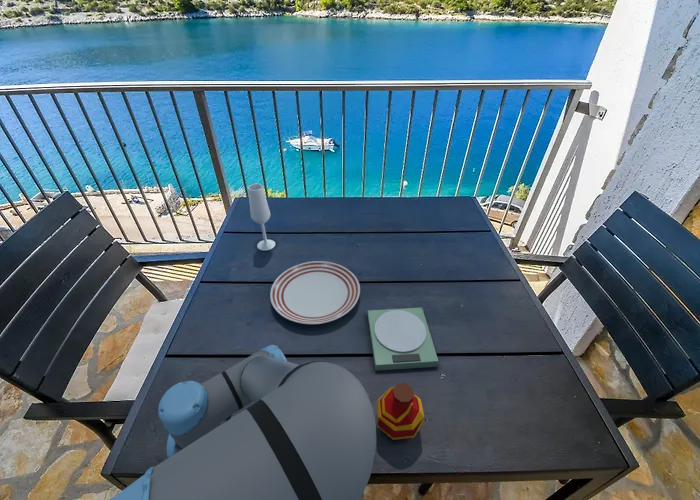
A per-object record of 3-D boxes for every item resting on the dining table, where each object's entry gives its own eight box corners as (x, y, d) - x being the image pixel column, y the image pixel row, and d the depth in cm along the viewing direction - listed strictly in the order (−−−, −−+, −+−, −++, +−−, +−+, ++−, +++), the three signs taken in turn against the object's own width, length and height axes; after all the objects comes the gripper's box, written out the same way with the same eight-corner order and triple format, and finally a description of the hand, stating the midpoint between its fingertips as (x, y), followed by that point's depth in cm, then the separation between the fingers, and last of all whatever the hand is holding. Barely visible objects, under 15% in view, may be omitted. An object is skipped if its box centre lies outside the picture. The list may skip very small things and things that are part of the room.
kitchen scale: (437, 366, 89) (438, 359, 87) (375, 370, 88) (375, 363, 86) (420, 313, 103) (422, 306, 101) (367, 316, 102) (367, 309, 100)
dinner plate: (265, 276, 115) (264, 269, 113) (344, 260, 122) (344, 252, 120) (279, 342, 95) (277, 334, 93) (372, 318, 102) (373, 310, 100)
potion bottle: (415, 459, 72) (424, 426, 63) (367, 441, 75) (370, 406, 66) (425, 413, 80) (435, 377, 71) (381, 397, 83) (385, 361, 73)
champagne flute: (278, 240, 131) (269, 183, 116) (271, 251, 126) (260, 193, 111) (261, 238, 132) (250, 181, 117) (253, 249, 127) (241, 190, 112)
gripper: (260, 383, 80) (351, 368, 83) (258, 514, 60) (376, 489, 63) (254, 364, 75) (351, 349, 78) (250, 500, 56) (379, 473, 59)
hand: (363, 412), depth 71 cm, fingers open, 13 cm apart
